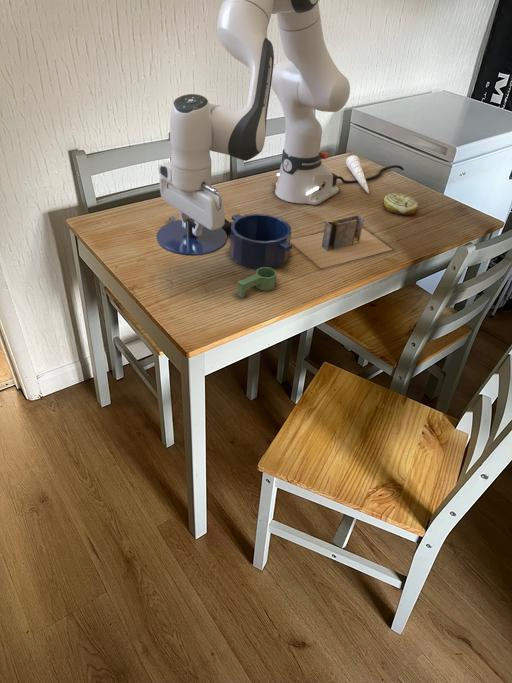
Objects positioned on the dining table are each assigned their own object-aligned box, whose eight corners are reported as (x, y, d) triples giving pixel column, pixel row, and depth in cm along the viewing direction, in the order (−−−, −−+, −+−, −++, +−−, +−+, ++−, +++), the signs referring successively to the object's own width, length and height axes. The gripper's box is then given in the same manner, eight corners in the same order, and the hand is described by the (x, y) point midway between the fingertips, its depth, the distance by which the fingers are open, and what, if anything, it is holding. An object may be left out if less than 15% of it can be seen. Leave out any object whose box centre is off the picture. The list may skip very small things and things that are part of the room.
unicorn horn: (357, 194, 180) (360, 180, 177) (344, 167, 199) (346, 154, 196) (371, 194, 181) (374, 181, 178) (357, 167, 199) (359, 154, 196)
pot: (254, 230, 156) (256, 205, 151) (307, 261, 145) (311, 235, 140) (212, 246, 148) (212, 220, 142) (264, 281, 136) (266, 253, 131)
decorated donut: (405, 220, 168) (408, 209, 165) (376, 208, 173) (378, 197, 171) (421, 210, 174) (424, 199, 172) (393, 199, 179) (395, 188, 177)
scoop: (265, 277, 137) (266, 264, 135) (279, 286, 135) (280, 272, 132) (232, 292, 131) (233, 278, 129) (246, 301, 129) (247, 288, 126)
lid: (198, 217, 138) (198, 198, 135) (241, 244, 129) (242, 224, 126) (142, 235, 129) (141, 216, 126) (184, 266, 120) (184, 245, 117)
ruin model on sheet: (321, 268, 143) (326, 235, 136) (288, 240, 153) (292, 208, 147) (392, 249, 153) (400, 218, 147) (357, 224, 164) (363, 194, 157)
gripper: (232, 188, 115) (230, 245, 124) (176, 157, 126) (177, 212, 135) (209, 195, 112) (208, 253, 120) (153, 163, 123) (156, 218, 131)
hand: (192, 231), depth 128 cm, fingers closed on lid, 2 cm apart
